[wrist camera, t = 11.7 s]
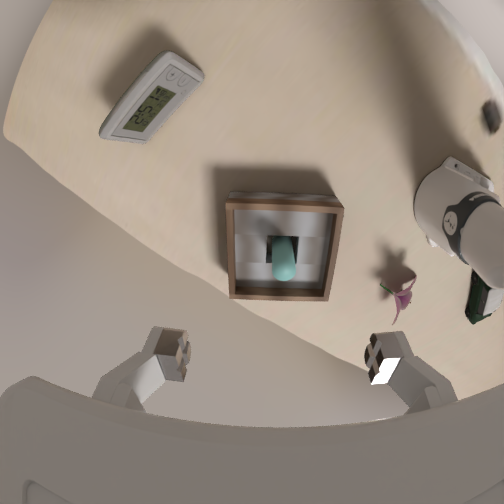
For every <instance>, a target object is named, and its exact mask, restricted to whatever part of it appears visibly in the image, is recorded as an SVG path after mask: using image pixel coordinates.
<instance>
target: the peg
mask: <svg viewBox="0 0 504 504" xmlns="http://www.w3.org/2000/svg"><path fill="white" fill-rule="evenodd" d="M272 274H273V276H274V277H275V278H276V279H277V280H280V281H288V280H290V279H292V278H293V277H294V276H295V274H296V266H295V260H294V253H293V246H292V240H291V237H290V236H278V235H274V236H273V238H272Z"/></svg>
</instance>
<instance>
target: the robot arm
mask: <svg viewBox="0 0 504 504" xmlns="http://www.w3.org/2000/svg"><path fill="white" fill-rule="evenodd" d="M455 164H456V166H455ZM414 211H415V217H416V221H417V223H418V225H419V227H420V228H421V229H422V230H423V231H424V232H425V234H426V236H427V240H428V243H429V244H430V245H431V246H432V247H438V246H439V247H440V248H442V249H443V250H444V251H445V252H446V253H448V254H449V255H450V256H453V255H456V256H457V257H458V258H459V259H460V260H461V261H463V262H464V263H465V264H467V265H470V266H471V267H472V268H473V269H474V270H475V272H476V273H477V274H478V275H479V276H480V277H481V278H482V279H483V281H484V282H485V283H486V284H487V285H488V286H490V287H491V288H494V289H501V290H503V289H504V208H503V207H502V206H501V205H500V198H499V196H498V195H496V194H495V193H494V186H493V182H492V181H490V180H489V179H488V178H486V177H485V176H483V175H481V174H480V173H478V172H477V171H475V170H473V169H472V168H470V167H469V166H467V165H465V164H463V163H462V162H460V161H458V160H457V159H455V158H453V157H448V158H447V159H446V160H445V161H444V162H443V164H442V165H441V166H440V167H439V168H438V169H436V170H434V171H432V172H431V173H430V174H429V175H427V176H426V178H425V179H424V180H423V181H422V183H421V185H420V187H419V189H418V191H417V194H416V198H415V204H414ZM187 339H188V333H187V331H186V330H180V329H172V328H164V327H156V326H154V327H153V328H152V330H151V332H150V334H149V336H148V339H147V341H146V343H145V345H144V348H143V350H142V352H138V353H136V354H135V355H133V356H132V357H130V358H129V359H127V360H126V361H125V362H123V363H122V364H120V365H119V366H117V367H116V368H114V369H113V370H111V371H110V372H108V373H107V374H105V375H104V376H102V377H101V379H100V381H99V383H98V385H97V387H96V390H95V391H94V394H93V396H92V398H90V397H87V396H84V395H81V394H78V393H76V392H73V391H70V390H67V389H65V388H62V387H60V386H57V385H55V384H52V383H50V382H47V381H45V380H43V379H41V378H38V377H36V376H30V377H27V378H25V379H23V380H21V381H19V382H17V383H16V384H14V385H12V386H10V387H9V388H8V389H6V391H5V392H4V393H3V394H2V395H1V397H0V504H504V384H501V385H499V386H496V387H494V388H491V389H489V390H486V391H484V392H481V393H479V394H476V395H473V396H470V397H468V398H465V399H462V400H459V401H458V399H457V397H456V394H455V392H454V389H453V387H452V385H451V382H450V381H449V380H448V379H447V378H445V377H444V376H443V375H441V374H440V373H439V372H437V371H436V370H435V369H433V368H432V367H431V366H430V365H428V364H427V363H426V362H424V361H423V360H422V359H420V358H419V357H418V356H414V354H413V352H412V350H411V347H410V345H409V343H408V341H407V339H406V336H405V334H404V332H402V331H396V332H384V333H373V334H372V335H371V337H370V342H371V343H370V344H369V345H367V347H366V350H365V355H364V358H365V364H366V366H367V367H368V368H370V370H369V372H368V375H369V378H370V382H371V384H380V383H387V384H388V385H389V386H390V387H391V388H392V389H393V390H394V391H395V392H396V393H397V395H398V396H399V397H400V398H401V399H402V400H403V401H404V402H405V403H406V404H407V405H408V406H409V407H410V408H409V409H408V411H407V412H406V413H405V414H404V415H402V416H397V417H392V418H386V419H380V420H374V421H367V422H360V423H352V424H343V425H333V426H332V425H331V426H318V427H291V428H290V427H289V428H273V427H244V426H230V425H219V424H210V423H201V422H194V421H186V420H180V419H175V418H169V417H164V416H158V415H153V414H149V413H146V411H145V409H144V408H143V406H142V403H143V402H144V401H145V400H146V399H147V398H148V397H149V396H150V395H152V394H153V392H155V391H156V390H157V389H158V388H159V387H160V386H161V385H162V384H163V383H164V382H165V381H166V380H172V381H180V382H184V379H185V375H186V372H187V369H186V365H187V364H188V363H189V361H190V356H191V346H190V343H189V342H188V341H187Z"/></svg>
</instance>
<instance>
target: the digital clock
mask: <svg viewBox="0 0 504 504" xmlns="http://www.w3.org/2000/svg"><path fill="white" fill-rule="evenodd" d="M203 81H204V73H203V72H202V71H200V70H199V69H197V68H196V67H195V66H193V65H192V64H190V63H189V62H187V61H186V60H184V59H183V58H182V57H180V56H179V55H177V54H175V53H174V52H172V51H168V50H166V51H163V52H161V53H159V54H158V55H157V56H156V57H155V58H154V59H153V60H152V61H151V63H150V64H149V65H148V66H147V67H146V68H145V69H144V70H143V71H142V73H141V74H140V75H139V76H138V77H137V78H136V80H135V81H134V82H133V83H132V84H131V86H130V87H129V88H128V89H127V91H126V92H125V93H124V94H123V96H122V97H121V98H120V100H119V101H118V102H117V103H116V105H115V106H114V108H113V109H112V110H111V112H110V113H109V114H108V116H107V117H106V119H105V120H104V122H103V123H102V125H101V127H100V129H99V136H100V138H102V139H107V140H115V141H124V142H132V143H140V144H144V143H147V142H148V141H149V140H150V139H151V138H152V136H153V135H154V134H155V133H156V132H157V131H158V129H159V128H160V127H161V126H162V125H163V124H164V123H165V121H166V120H167V119H168V118H169V117H170V116H171V115H172V114H173V113H174V112H175V110H176V109H177V108H178V107H179V106H180V105H181V104H182V103H183V102H184V101H185V100H186V99H187V98H188V97H189V96H190V95H191V94H192V93H193V92H194V91H195V90H196V89H197V88H198V87H199V86H200V85H201V84H202V82H203Z"/></svg>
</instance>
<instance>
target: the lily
mask: <svg viewBox="0 0 504 504" xmlns="http://www.w3.org/2000/svg"><path fill="white" fill-rule="evenodd" d="M416 277H417V275H416ZM416 277H415V279H414V281H413V282H412V284H411V285H410V286H409V287H408V288H406V289H405V290H403V291H401V292H399V293H396V294H394V293H393V292H391V291H390V290H388V289H387V288H385V287H384V286H383V285H381V284H380V286H382V287H383V288H384V289H386V290H387V291H389V292H390V293H391V294H393V295H394V297H395V301H396V307H397V314H396V317H395V320H394V322H393V324H394V323H395V322H396V320H397V317H398V314H399V312H400V310H404V309H405V308H406V307H407V306H408V304H409V303H411V302H410V300H411V297H412V292H411V291H410V290H411V288H412V286H413V284H414V283H415V281H416ZM393 324H392V325H393Z"/></svg>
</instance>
